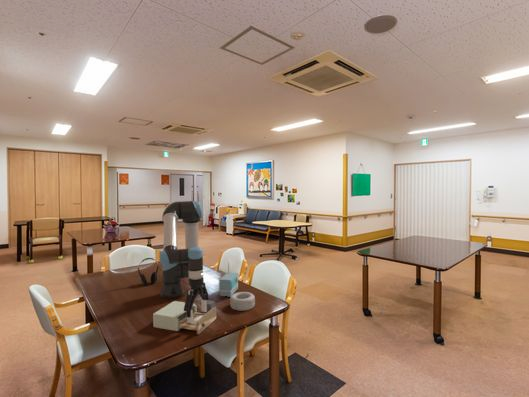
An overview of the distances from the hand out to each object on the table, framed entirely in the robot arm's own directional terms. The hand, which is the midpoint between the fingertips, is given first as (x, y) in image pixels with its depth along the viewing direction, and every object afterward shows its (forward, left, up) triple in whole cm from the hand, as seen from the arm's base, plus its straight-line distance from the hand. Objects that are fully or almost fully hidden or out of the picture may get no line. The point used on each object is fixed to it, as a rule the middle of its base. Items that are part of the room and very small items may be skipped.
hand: (197, 317), depth 153 cm
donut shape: (+13, +29, -5) cm, 32 cm away
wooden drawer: (-1, 0, -4) cm, 4 cm away
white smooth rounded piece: (0, 0, -2) cm, 2 cm away
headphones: (-72, +46, -4) cm, 85 cm away
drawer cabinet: (-14, 0, -4) cm, 14 cm away
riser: (-2, +15, -4) cm, 16 cm away
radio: (-3, +46, -4) cm, 46 cm away
